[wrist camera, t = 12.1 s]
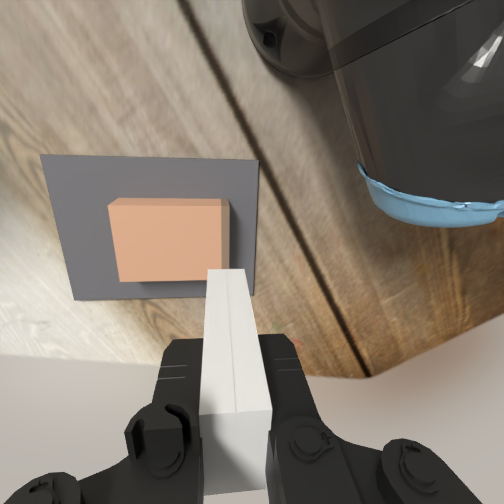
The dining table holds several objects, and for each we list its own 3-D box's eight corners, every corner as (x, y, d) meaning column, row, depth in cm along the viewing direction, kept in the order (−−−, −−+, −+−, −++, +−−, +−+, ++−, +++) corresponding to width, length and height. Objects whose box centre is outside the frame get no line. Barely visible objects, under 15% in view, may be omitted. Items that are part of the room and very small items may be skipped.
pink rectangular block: (107, 205, 33) (229, 206, 35) (118, 197, 37) (228, 198, 39) (119, 282, 37) (229, 279, 39) (128, 268, 41) (228, 266, 42)
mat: (42, 154, 35) (39, 154, 34) (258, 160, 38) (258, 160, 37) (76, 298, 42) (74, 300, 42) (252, 293, 45) (253, 295, 45)
